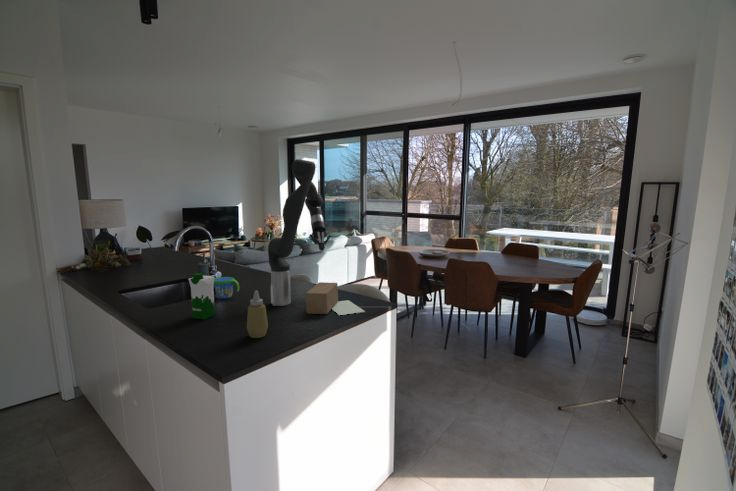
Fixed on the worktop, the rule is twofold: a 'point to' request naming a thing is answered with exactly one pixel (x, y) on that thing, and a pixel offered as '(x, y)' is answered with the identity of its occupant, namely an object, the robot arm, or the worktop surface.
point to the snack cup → (224, 287)
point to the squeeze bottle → (257, 317)
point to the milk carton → (202, 296)
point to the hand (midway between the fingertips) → (322, 249)
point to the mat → (346, 308)
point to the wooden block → (321, 298)
